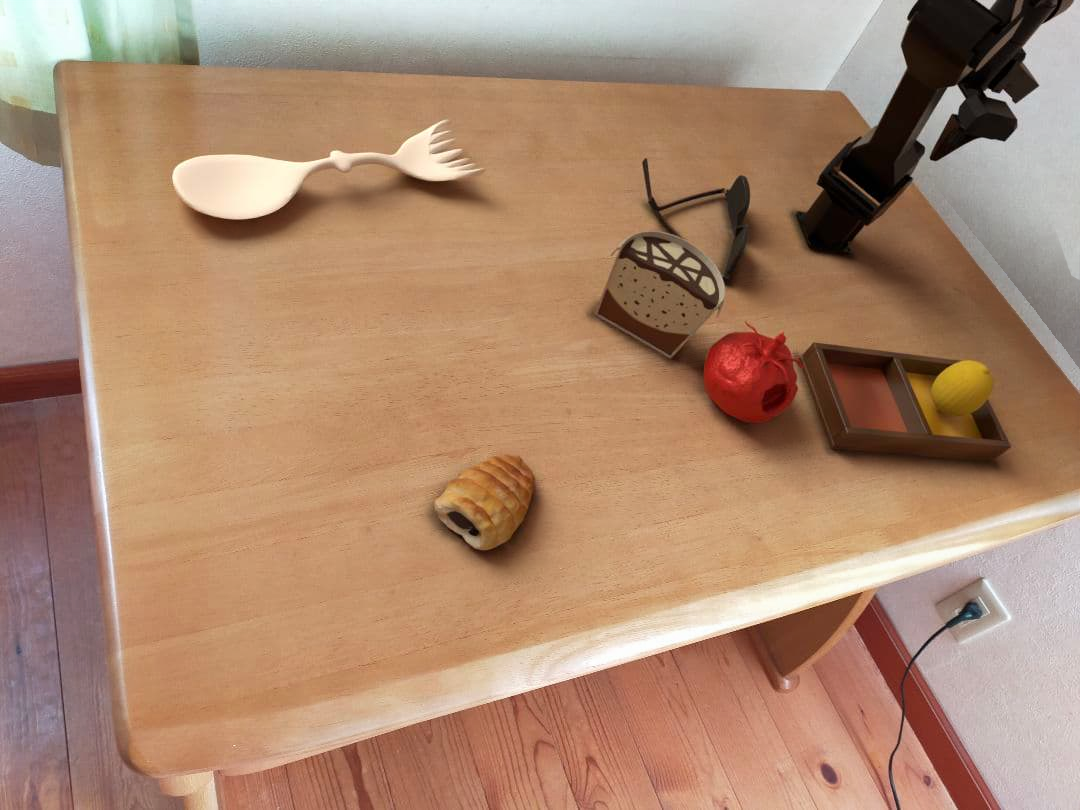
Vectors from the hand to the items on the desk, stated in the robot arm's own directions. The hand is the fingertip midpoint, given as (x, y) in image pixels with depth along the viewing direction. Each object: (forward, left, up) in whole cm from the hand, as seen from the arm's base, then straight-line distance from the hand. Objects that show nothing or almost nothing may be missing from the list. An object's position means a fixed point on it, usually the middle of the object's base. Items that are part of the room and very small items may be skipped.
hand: (919, 136), depth 114 cm
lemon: (-5, -36, -11) cm, 38 cm away
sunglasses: (-31, -10, -12) cm, 35 cm away
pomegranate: (-31, -36, -12) cm, 49 cm away
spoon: (-73, -13, -12) cm, 75 cm away
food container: (-40, -27, -12) cm, 50 cm away
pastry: (-60, -51, -12) cm, 80 cm away
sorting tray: (-10, -36, -12) cm, 39 cm away
